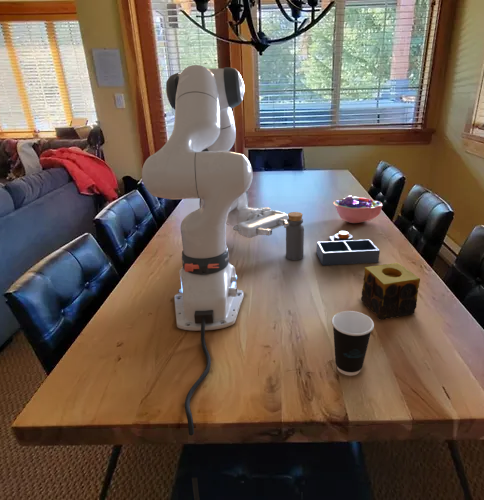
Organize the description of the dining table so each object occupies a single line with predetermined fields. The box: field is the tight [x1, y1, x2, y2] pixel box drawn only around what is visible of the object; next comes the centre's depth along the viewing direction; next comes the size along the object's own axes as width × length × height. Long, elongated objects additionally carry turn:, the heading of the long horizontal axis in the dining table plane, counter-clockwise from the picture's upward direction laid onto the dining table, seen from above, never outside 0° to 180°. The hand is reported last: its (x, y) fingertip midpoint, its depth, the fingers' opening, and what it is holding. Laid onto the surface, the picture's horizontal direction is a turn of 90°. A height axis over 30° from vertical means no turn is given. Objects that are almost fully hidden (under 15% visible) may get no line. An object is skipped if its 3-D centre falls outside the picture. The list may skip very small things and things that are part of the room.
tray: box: [316, 238, 381, 266], centre depth 123 cm, size 10×18×4 cm, turn 95°
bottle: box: [285, 211, 305, 261], centre depth 123 cm, size 6×6×15 cm
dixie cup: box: [331, 310, 375, 377], centre depth 74 cm, size 8×8×11 cm
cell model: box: [332, 195, 383, 224], centre depth 155 cm, size 17×20×11 cm
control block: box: [328, 232, 354, 241], centre depth 135 cm, size 10×8×3 cm
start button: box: [338, 230, 350, 238], centre depth 134 cm, size 4×4×2 cm
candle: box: [360, 262, 421, 321], centre depth 94 cm, size 10×10×10 cm
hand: (280, 229), depth 127 cm, fingers open, 8 cm apart
